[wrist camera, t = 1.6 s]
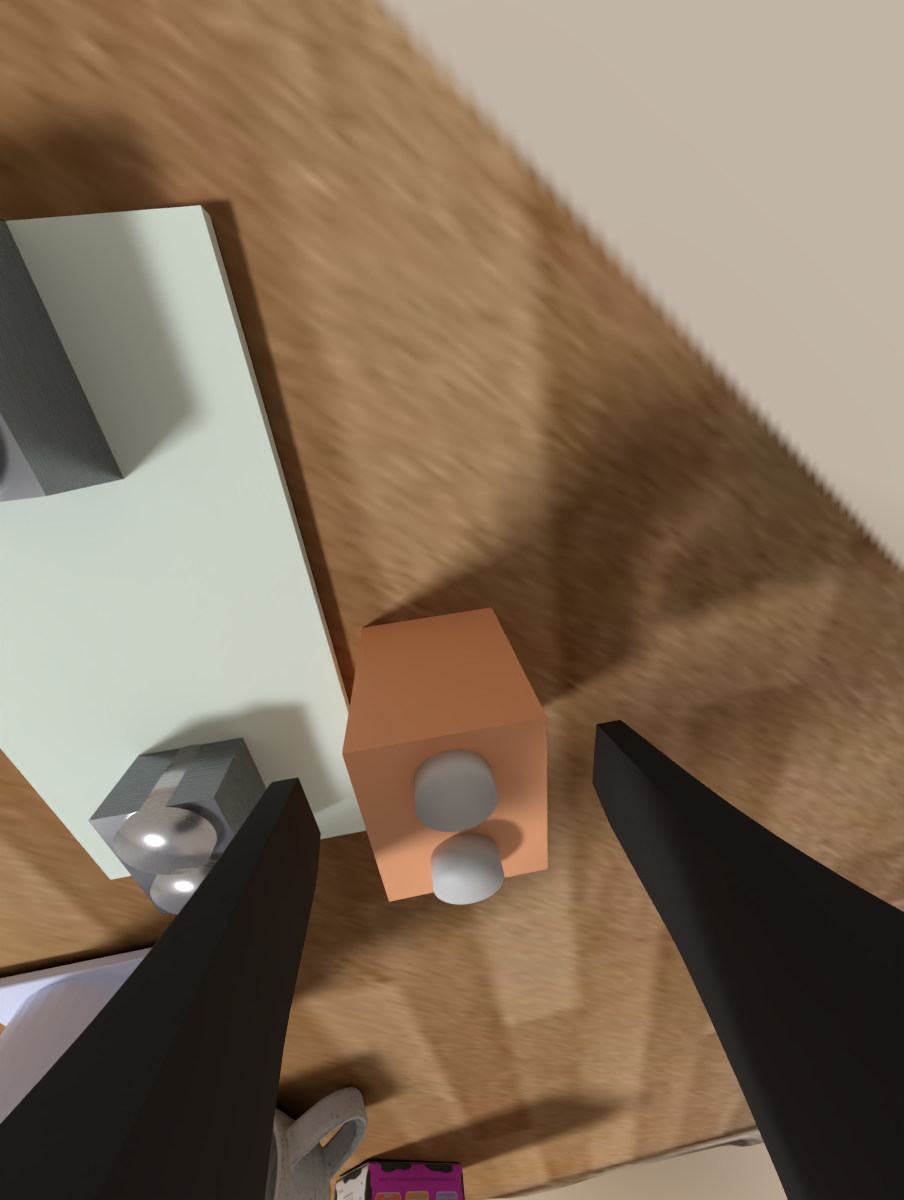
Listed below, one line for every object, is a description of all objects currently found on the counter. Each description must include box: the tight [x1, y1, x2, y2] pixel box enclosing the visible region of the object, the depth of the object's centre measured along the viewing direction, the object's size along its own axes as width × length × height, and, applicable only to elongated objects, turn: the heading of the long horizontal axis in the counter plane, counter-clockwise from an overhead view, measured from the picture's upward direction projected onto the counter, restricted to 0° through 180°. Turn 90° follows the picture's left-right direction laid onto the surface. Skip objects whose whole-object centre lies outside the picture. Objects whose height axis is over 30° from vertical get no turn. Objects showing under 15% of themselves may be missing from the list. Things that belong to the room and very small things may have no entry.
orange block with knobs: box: [342, 607, 547, 904], centre depth 11 cm, size 5×4×6 cm
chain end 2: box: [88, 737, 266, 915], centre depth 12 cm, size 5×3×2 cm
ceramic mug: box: [265, 1087, 367, 1200], centre depth 23 cm, size 11×8×8 cm
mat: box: [0, 205, 366, 880], centre depth 11 cm, size 18×10×1 cm, turn 6°
